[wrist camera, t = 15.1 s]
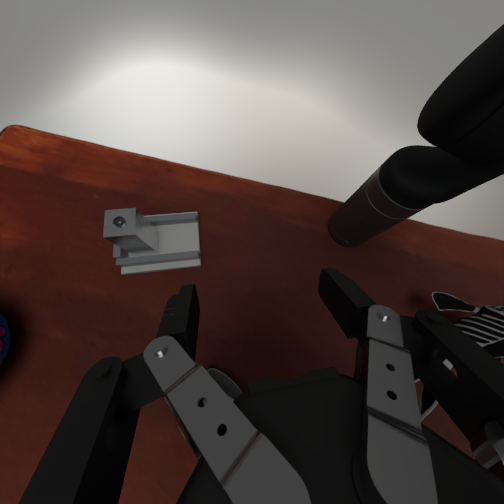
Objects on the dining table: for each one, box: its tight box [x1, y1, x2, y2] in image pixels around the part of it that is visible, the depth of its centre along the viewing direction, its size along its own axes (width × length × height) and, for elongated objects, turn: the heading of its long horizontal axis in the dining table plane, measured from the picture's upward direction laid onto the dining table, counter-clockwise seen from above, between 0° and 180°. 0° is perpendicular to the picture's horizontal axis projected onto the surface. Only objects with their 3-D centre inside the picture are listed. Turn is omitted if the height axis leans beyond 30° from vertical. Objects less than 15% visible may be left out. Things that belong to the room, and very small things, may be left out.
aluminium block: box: [103, 208, 159, 255], centre depth 36 cm, size 5×5×10 cm
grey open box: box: [113, 212, 201, 275], centre depth 40 cm, size 15×12×4 cm
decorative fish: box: [413, 292, 504, 422], centre depth 33 cm, size 16×26×15 cm, turn 119°
